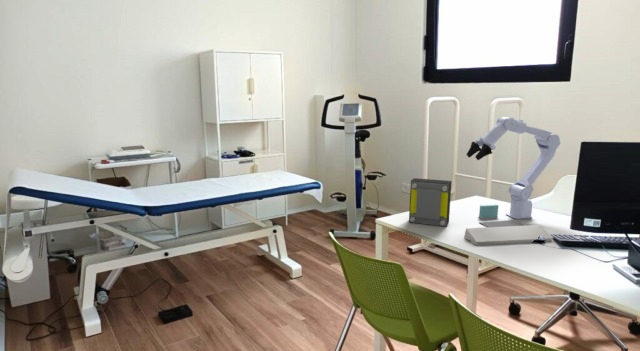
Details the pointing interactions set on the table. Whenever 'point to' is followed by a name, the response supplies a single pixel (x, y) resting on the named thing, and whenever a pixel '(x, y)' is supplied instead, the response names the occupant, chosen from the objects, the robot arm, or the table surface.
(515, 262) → the table surface
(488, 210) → the card box
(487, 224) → the mat
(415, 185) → the electrical component
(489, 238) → the bevelled gray strip
